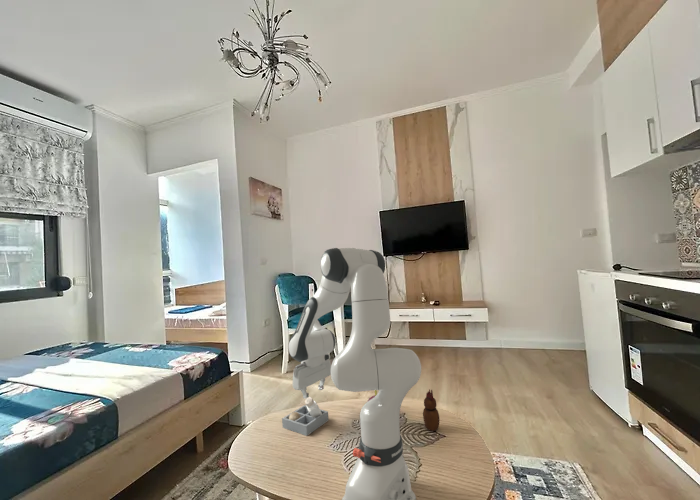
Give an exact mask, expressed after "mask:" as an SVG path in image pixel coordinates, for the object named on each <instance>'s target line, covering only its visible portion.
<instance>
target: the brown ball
mask: <svg viewBox="0 0 700 500" xmlns="http://www.w3.org/2000/svg"><path fill="white" fill-rule="evenodd" d="M292 412H293V413H292ZM292 412H291V414H290V413H289V414H290V416H289V419H290V420H293V421H296V420H297V419H299V418H300V414H299V413H297V412H294V411H292Z"/></svg>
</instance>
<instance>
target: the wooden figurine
mask: <svg viewBox="0 0 700 500" xmlns="http://www.w3.org/2000/svg"><path fill="white" fill-rule="evenodd" d="M433 393H434V392H433V389H428V391H427V392H426V395H425V396H426V397H425V398H423V405H424V408H423V409H422V416H423V417H422V419H423V422H424V426H425V428H426V429H427V430H429V431H436V430H438V429H439V427H440V420H441V419H440V414H439V410H438V409H437V400H436V399H435V398H434V394H433Z"/></svg>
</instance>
